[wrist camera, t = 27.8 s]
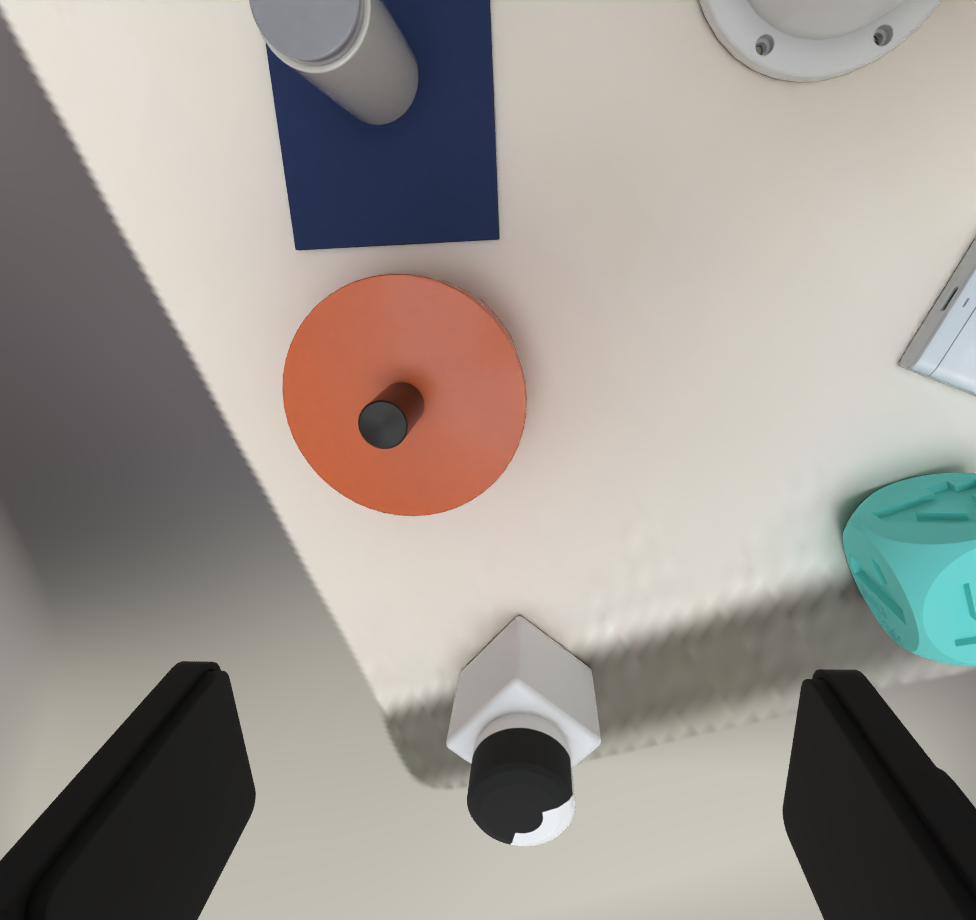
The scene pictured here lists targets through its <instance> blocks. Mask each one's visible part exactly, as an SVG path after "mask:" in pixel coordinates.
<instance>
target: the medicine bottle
mask: <svg viewBox="0 0 976 920" xmlns="http://www.w3.org/2000/svg"><path fill="white" fill-rule="evenodd" d="M446 743H447V747H448V748H449V749H450V750H452V751H453V752H455V753H456V754H458V755H459V756H460V757H462V758H463V759H465V760H466V761H468V762H469V763H470V764H471V772H470V780H469V787H468V795H467V805H468V809H469V812H470V814H471V817H472V818H473V820H474V821H475V822H476V824H477V825H478V826H479V827H480V828H481V829H482V830H483V831H484V832H485V833H486V834H488V835H489V836H491V837H492V838H494V839H496V840H498V841H501V842H503V843H506V844H510V845H516V846H533V845H539V844H542V843H545V842H548V841H550V840H552V839H554V838H555V837H557V836H558V835H559V834H561V833H562V832H563V831H564V830H565V829H566V828H567V826H568V825H569V824H570V822H571V820H572V818H573V815H574V811H575V810H574V809H575V799H574V785H573V771H572V768H573V767H574V766H575V765H576V764H578V763H579V762H580V761H581V760H583V759H584V758H585V757H586V756H587V755H589V754H590V753H591V752H592V751H593V750H595V749H596V748H597V747H598V746H599V745H600V743H601V738H600V730H599V722H598V715H597V707H596V700H595V692H594V684H593V677H592V670H591V669H590V668H589V667H588V666H587V665H585V664H584V663H583V662H581V661H580V660H579V659H577V658H576V657H575V656H573V655H572V654H571V653H569V652H568V651H567V650H565V649H564V648H563V647H561V646H560V645H559V644H558V643H556V642H555V641H554V640H552V639H551V638H550V637H548V636H547V635H546V634H544V633H543V632H542V631H540V630H539V629H538V628H536V627H535V626H534V625H532V624H531V623H530V622H528V621H527V620H526V619H524V618H523V617H521V616H517V617H516V618H515V619H514V620H513V621H512V622H511V623H510V624H509V625H508V626H507V627H506V628H505V629H504V630H503V631H502V632H501V633H500V634H499V635H498V636H497V637H496V638H495V639H494V640H493V641H492V642H491V643H490V644H489V645H488V646H487V647H486V648H485V649H484V650H482V651H481V652H480V653H479V654H478V655H477V656H476V657H475V658H474V659H473V660H472V661H471V662H470V663H469V664H468V665H467V666H466V667H465V668H464V669H463V670H462V671H461V672H460V674H459V678H458V683H457V689H456V694H455V699H454V705H453V710H452V715H451V720H450V726H449V731H448V736H447V742H446Z"/></svg>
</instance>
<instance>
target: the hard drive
mask: <svg viewBox="0 0 976 920" xmlns="http://www.w3.org/2000/svg"><path fill="white" fill-rule="evenodd" d="M899 365H900V366H901V367H903V368H906V369H909V370H911V371H914V372H916V373H919V374H921V375H924V376H926V377H929V378H931V379H934V380H936V381H939V382H941V383H944V384H947V385H949V386H952V387H954V388H957V389H959V390H962V391H964V392H967V393H969V394H972V395H975V396H976V238H975V240H974V242H973V243H972V245H971V247H970V248H969V250H968V251H967V253H966V254H965V256H964V258H963V259H962V261H961V263H960V264H959V266H958V267H957V269H956V271H955V272H954V274H953V276H952V277H951V279H950V280H949V282H948V284H947V285H946V287H945V289H944V290H943V292H942V293H941V295H940V297H939V298H938V300H937V301H936V303H935V305H934V306H933V308H932V309H931V311H930V313H929V314H928V316H927V317H926V319H925V321H924V322H923V324H922V326H921V327H920V329H919V330H918V332H917V334H916V335H915V336H914V338H913V340H912V341H911V343H910V345H909V346H908V348H907V349H906V351H905V353H904V354H903V356H902V358H901V361H900V363H899Z"/></svg>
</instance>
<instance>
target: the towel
mask: <svg viewBox="0 0 976 920" xmlns="http://www.w3.org/2000/svg"><path fill="white" fill-rule="evenodd" d="M382 1H383V2H384V4H385V6H386V7H387V9H388V11H389V12H390V14H391V16H392V17H393V19H394V21H395V22H396V24H397V26H398V27H399V29H400V31H401V32H402V34H403V36H404V37H405V39H406V41H407V42H408V44H409V46H410V47H411V49H412V51H413V53H414V56H415V59H416V62H417V67H418V87H417V91H416V94H415V97H414V100H413V102H412V104H411V105H410V107H409V108H408V110H407V111H406V112H405V113H404V114H403V115H402V116H401V117H399V118H398V119H396V120H395V121H393V122H390V123H387V124H382V125H373V124H368V123H365V122H362V121H360V120H358V119H357V118H355V117H354V116H353V115H351V114H350V113H349V112H347V111H346V110H345V109H344V108H342V107H341V106H340V105H338V104H337V103H336V102H334V101H333V100H332V99H331V98H329V97H328V96H327V95H325V94H324V93H323V92H322V91H320V90H319V89H318V88H316V87H315V86H314V85H313V84H311V83H310V82H309V81H307V80H306V79H305V78H304V77H302V76H301V75H300V74H298V73H297V72H296V71H295V70H293V69H292V68H291V67H289V66H288V65H287V64H285V63H284V62H283V61H282V60H281V59H279V58H278V57H277V56H276V55H275V54H274V53H273V51H272V50H271V49H270V48H269V46H268V45H267V43H266V48H267V55H268V62H269V69H270V76H271V83H272V90H273V97H274V103H275V110H276V117H277V124H278V131H279V138H280V145H281V152H282V159H283V165H284V172H285V179H286V186H287V193H288V200H289V207H290V214H291V220H292V227H293V234H294V241H295V248H296V250H311V249H330V248H348V247H367V246H385V245H404V244H423V243H441V242H460V241H478V240H497V239H499V221H498V195H497V169H496V144H495V118H494V92H493V67H492V41H491V15H490V0H382Z"/></svg>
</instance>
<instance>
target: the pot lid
mask: <svg viewBox="0 0 976 920" xmlns="http://www.w3.org/2000/svg"><path fill="white" fill-rule="evenodd" d="M283 400H284V408H285V413H286V417H287V421H288V424H289V427H290V430H291V433H292V435H293V438H294V440H295V442H296V444H297V446H298V447H299V449H300V451H301V453H302V454H303V456H304V457H305V459H306V460H307V462H308V463H309V464H310V466H311V467H312V468H313V469H314V470H315V471H316V473H317V474H318V475H319V476H320V477H321V478H322V479H323V480H324V481H325V482H326V483H328V484H329V485H330V486H331V487H332V488H334V489H335V490H336V491H338V492H339V493H340V494H342V495H343V496H345V497H347V498H349V499H350V500H352V501H354V502H356V503H358V504H360V505H363V506H365V507H367V508H370V509H373V510H377V511H380V512H383V513H389V514H394V515H404V516H421V515H431V514H436V513H441V512H445V511H448V510H451V509H454V508H457V507H459V506H461V505H463V504H465V503H467V502H469V501H471V500H473V499H474V498H476V497H477V496H479V495H480V494H482V493H483V492H484V491H485V490H486V489H488V488H489V487H490V486H491V485H492V484H493V483H494V482H495V481H496V480H497V479H498V478H499V477H500V475H501V474H502V473H503V472H504V470H505V469H506V467H507V466H508V464H509V463H510V461H511V460H512V458H513V456H514V454H515V452H516V450H517V447H518V445H519V442H520V439H521V436H522V433H523V428H524V423H525V417H526V388H525V380H524V376H523V371H522V367H521V364H520V361H519V359H518V356H517V353H516V351H515V349H514V347H513V345H512V343H511V341H510V340H509V338H508V336H507V334H506V333H505V332H504V330H503V329H502V327H501V326H500V325H499V323H498V322H497V321H496V320H495V319H494V318H493V316H492V315H491V314H490V313H489V312H488V311H487V310H486V309H485V308H484V307H482V306H481V305H480V304H479V303H478V302H476V301H475V300H474V299H473V298H471V297H470V296H468V295H466V294H465V293H463V292H462V291H460V290H458V289H456V288H454V287H452V286H450V285H448V284H445V283H443V282H440V281H437V280H434V279H431V278H427V277H422V276H416V275H410V274H388V275H380V276H373V277H369V278H365V279H362V280H358V281H355V282H353V283H351V284H348V285H346V286H344V287H342V288H340V289H339V290H337V291H335V292H334V293H332V294H330V295H329V296H328V297H326V298H325V299H324V300H323V301H322V302H320V303H319V304H318V305H317V306H316V307H315V308H314V309H313V310H312V311H311V312H310V314H309V315H308V316H307V317H306V318H305V320H304V321H303V323H302V324H301V326H300V327H299V329H298V330H297V332H296V334H295V336H294V338H293V341H292V343H291V345H290V348H289V351H288V354H287V358H286V361H285V367H284V373H283Z"/></svg>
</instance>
